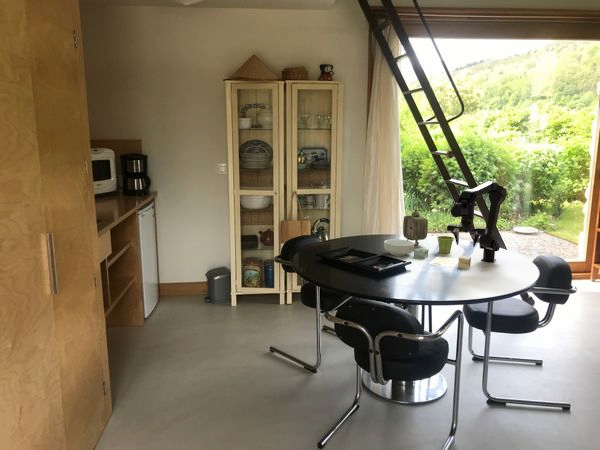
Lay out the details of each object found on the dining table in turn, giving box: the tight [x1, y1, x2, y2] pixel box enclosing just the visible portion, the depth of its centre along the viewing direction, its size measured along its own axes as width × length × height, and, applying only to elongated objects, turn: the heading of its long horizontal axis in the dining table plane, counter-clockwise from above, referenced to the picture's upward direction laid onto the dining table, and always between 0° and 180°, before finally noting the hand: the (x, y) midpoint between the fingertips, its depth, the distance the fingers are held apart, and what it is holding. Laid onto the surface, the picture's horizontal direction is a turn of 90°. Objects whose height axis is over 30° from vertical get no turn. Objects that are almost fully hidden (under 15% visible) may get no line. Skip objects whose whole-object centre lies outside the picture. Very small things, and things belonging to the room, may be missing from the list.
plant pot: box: [436, 235, 455, 254], centre depth 275 cm, size 9×9×9 cm
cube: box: [457, 255, 472, 270], centre depth 245 cm, size 5×5×5 cm
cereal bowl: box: [383, 238, 415, 257], centre depth 270 cm, size 17×17×7 cm
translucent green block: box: [413, 247, 430, 260], centre depth 265 cm, size 6×6×4 cm
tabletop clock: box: [402, 203, 429, 248], centre depth 293 cm, size 14×9×25 cm, turn 17°
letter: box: [428, 256, 459, 268], centre depth 255 cm, size 18×13×1 cm
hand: (465, 245), depth 243 cm, fingers open, 8 cm apart
